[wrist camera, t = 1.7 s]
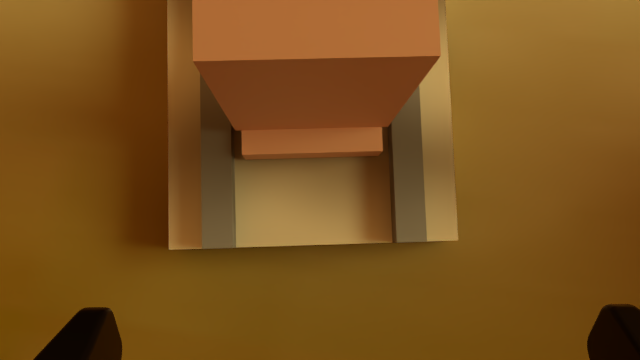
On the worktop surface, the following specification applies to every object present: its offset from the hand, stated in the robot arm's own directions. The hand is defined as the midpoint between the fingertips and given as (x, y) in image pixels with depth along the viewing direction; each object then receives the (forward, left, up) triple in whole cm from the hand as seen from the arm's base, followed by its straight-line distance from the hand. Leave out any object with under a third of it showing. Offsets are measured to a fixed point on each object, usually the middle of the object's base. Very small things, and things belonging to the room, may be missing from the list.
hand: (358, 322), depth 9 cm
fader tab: (+3, +5, -11) cm, 13 cm away
